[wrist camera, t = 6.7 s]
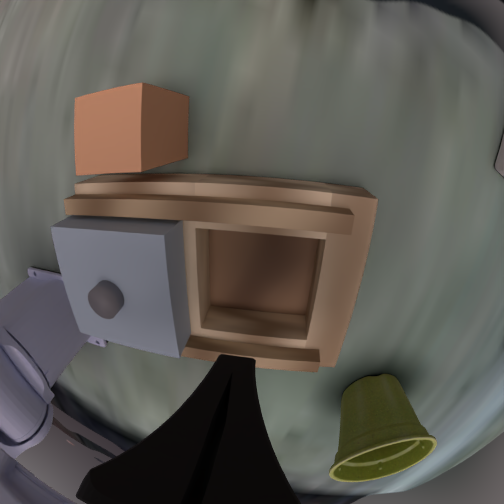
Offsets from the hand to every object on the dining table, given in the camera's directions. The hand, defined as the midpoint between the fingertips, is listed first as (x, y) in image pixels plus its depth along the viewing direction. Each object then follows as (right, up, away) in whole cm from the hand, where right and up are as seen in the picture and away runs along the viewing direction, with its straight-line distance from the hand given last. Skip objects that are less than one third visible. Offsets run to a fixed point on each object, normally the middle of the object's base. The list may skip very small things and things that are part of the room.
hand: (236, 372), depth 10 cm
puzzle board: (-2, +4, +9) cm, 10 cm away
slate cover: (-7, +3, +6) cm, 10 cm away
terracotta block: (-5, +13, +5) cm, 15 cm away
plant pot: (+13, -9, +13) cm, 20 cm away
